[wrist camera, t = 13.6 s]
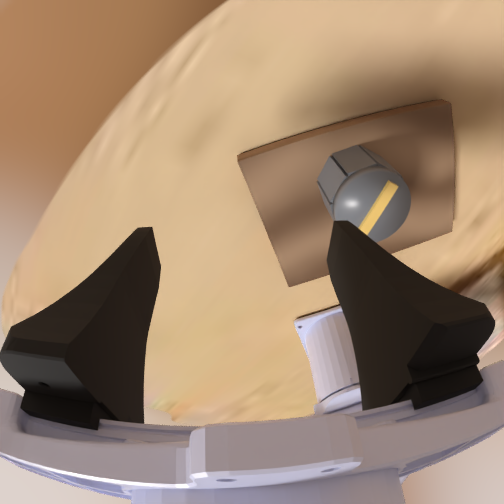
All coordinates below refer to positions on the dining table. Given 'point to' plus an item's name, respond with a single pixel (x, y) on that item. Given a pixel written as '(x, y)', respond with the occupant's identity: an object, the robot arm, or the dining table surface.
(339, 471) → the robot arm
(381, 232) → the grey control knob
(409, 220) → the stud board
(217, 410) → the dining table surface
